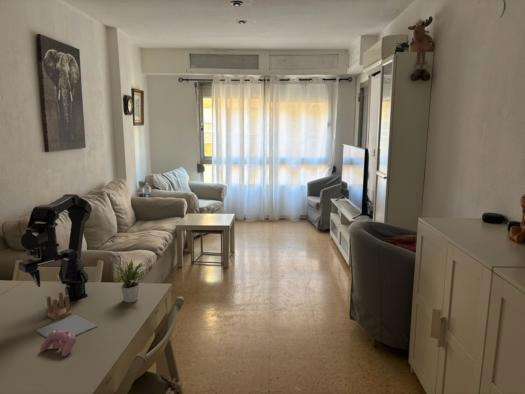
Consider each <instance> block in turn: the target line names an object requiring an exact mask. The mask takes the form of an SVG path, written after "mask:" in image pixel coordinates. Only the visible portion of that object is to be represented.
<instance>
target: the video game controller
mask: <svg viewBox="0 0 525 394" xmlns="http://www.w3.org/2000/svg"><path fill="white" fill-rule="evenodd" d="M60 340H61V341H63V342H60ZM76 341H77V336H75V335H74V334H72V333H70V332H69V331H66V330H55V331H51V333H49V334H48V336H47V337H45V339H44V341H43V342H42V343H41V345H40V348H39V349H40V352H41V353H43V352H45V351H47V350H48V349H49V348H50V347H52V349H54V350H57V349H60V350H61V357H63V358H64V357H67V356H68V355H69V353H70V352H71V350H72V349H73V346H74V345H75V343H76Z"/></svg>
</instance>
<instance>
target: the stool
mask: <svg viewBox="0 0 525 394" xmlns="http://www.w3.org/2000/svg"><path fill="white" fill-rule="evenodd" d="M58 299H59V302H58V300H57V299H56V298H55V299H51V296H49V295H48V296H46V305H47V312H46V316H48V317H49V318H50V319H53V320H55V321H56V320H58V319H62V318H64V317H67V316H70V315H72V310H71V306H70V304H71V303H70V300H69V296H68V295H66V294H65V295H64V294H63V292H58ZM64 302H65V303H64ZM58 303H59V307H58ZM52 308H53V309H52ZM69 314H70V315H69Z"/></svg>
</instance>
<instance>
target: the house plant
mask: <svg viewBox="0 0 525 394" xmlns="http://www.w3.org/2000/svg"><path fill="white" fill-rule="evenodd" d="M124 261H125V264H126V268H127V269H123V268H122V267H121V265H118V264H117V263H114V266H116V267H117V268H118V269H115V268H114V270H115V271H116V272H118V273H119V274H120V276H119V275H118V276H116V277H117V278H115V279H114V281H122V284H121V285H120V288H121V293H122V298H123V300H124V302H125V303H134V302H136V301H138V299H139V292H140V291H139V290H140V282H138V281H139V280H140V279H141V278H142V277H145V274H141V273H140V272H141V271H142V270H144V269H143V268H141V267H144V266H148V265H149V264H147V263H146V264H145V263H144V262H145V260H143V261H141V262H140V263H138V265H136V266H134V263H133V259H132V258H131V259H130V261H129V264H128V262H127V261H126V260H124ZM140 268H141V269H140ZM136 279H137V281H136Z"/></svg>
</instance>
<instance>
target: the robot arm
mask: <svg viewBox="0 0 525 394" xmlns="http://www.w3.org/2000/svg"><path fill="white" fill-rule="evenodd" d="M92 207H93V206H92V205H91V203H90V202H89V201H87V200H86V199H83V198H81V197H80V196H79V195H78V194H76V193H75V194H74V193H72V194H71V193H67V194H63V195H62V197H60V198H58V199H56V200H54V201H52V202H51V203H49V204H41V205H37V206H35V207H33V209H32V210H31V213H30V216H29V219H28V223H27V226H26V227H27V229H25V233H24V234H23V235H22V236H21V239H20V244H21V246H22V247H23V248H24V249H26V251H25V252H26V256H27V257H28V259H26V260H25V259H24V260H21V261H19V263H18V265H17V266H18V267H17V268H18V271H22V272H23V273H25V274H26V273H27V274H29V275H30V277H31V278H32V279H33V281H34V283H35V285H36V286H37V288H41V275H40V274H41V273H40V270H39V269H38V268H39V266H42V265H45V264H46V265H47V264H49V263H53V262H57V261H60V269H59V274H58V275H59V276H58V277H59V280H60V282H61V284H62V285H65V287H64V292H65V296H66V295H68V296H69V301H72V302H75V301H77V300H79V299H82V298H83V299H84V298H86V297H88V295H89V294H88V293H86V292H87V291H86V284H87V283H88V281H89V274H88V272H86V271H85V270H84V269H85V266H84V264H83V262H82V260H81V257H82V249H83V239H84V233H85V232H84V231H85V225H86V223H87V222H88V220H89V219H90V217H91V213H92V209H93V208H92ZM64 211H67V217H68V219H69V220H70V222H71V225H70V232H69V233H70V234H69V240H68V248H67V249H63V250H61V251H60V252H59V251H58V247H60V244H59V242H58V241H57V240H58V239H57V231H56V227H57V226H58V225H59V224H58V222H56V221H57V220H58V219H59V218H60V214H61V213H63V212H64ZM29 257H32V258H33V259H34V260H33V259H31V258H29ZM35 259H37V260H35Z"/></svg>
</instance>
